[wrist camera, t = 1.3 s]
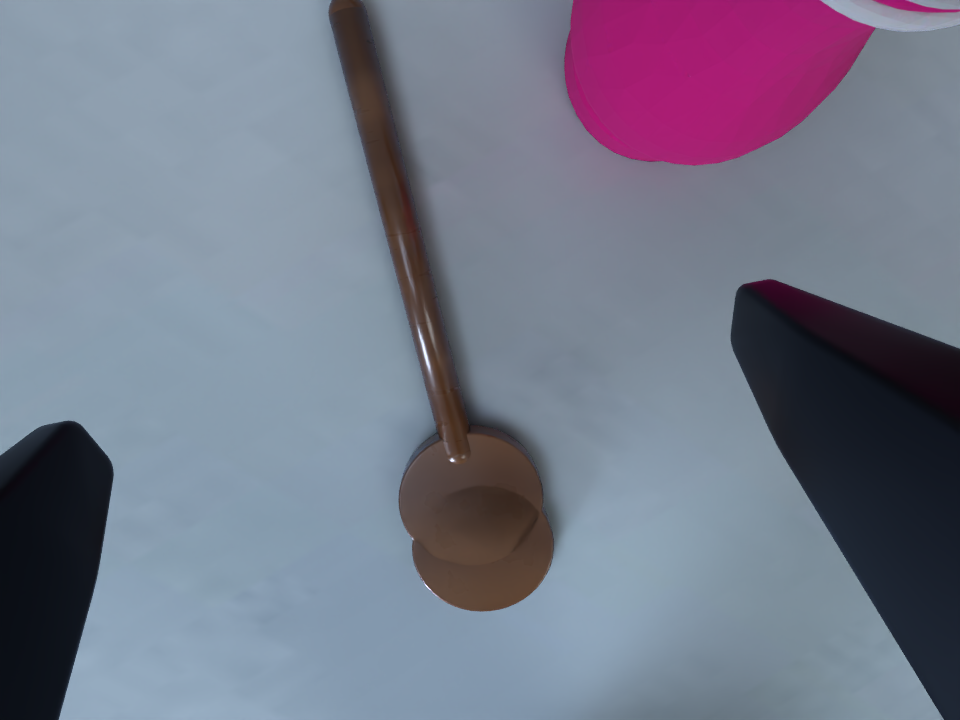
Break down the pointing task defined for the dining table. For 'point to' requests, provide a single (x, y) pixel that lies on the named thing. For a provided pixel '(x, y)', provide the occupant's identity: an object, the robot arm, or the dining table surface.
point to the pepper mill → (718, 68)
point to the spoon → (444, 392)
